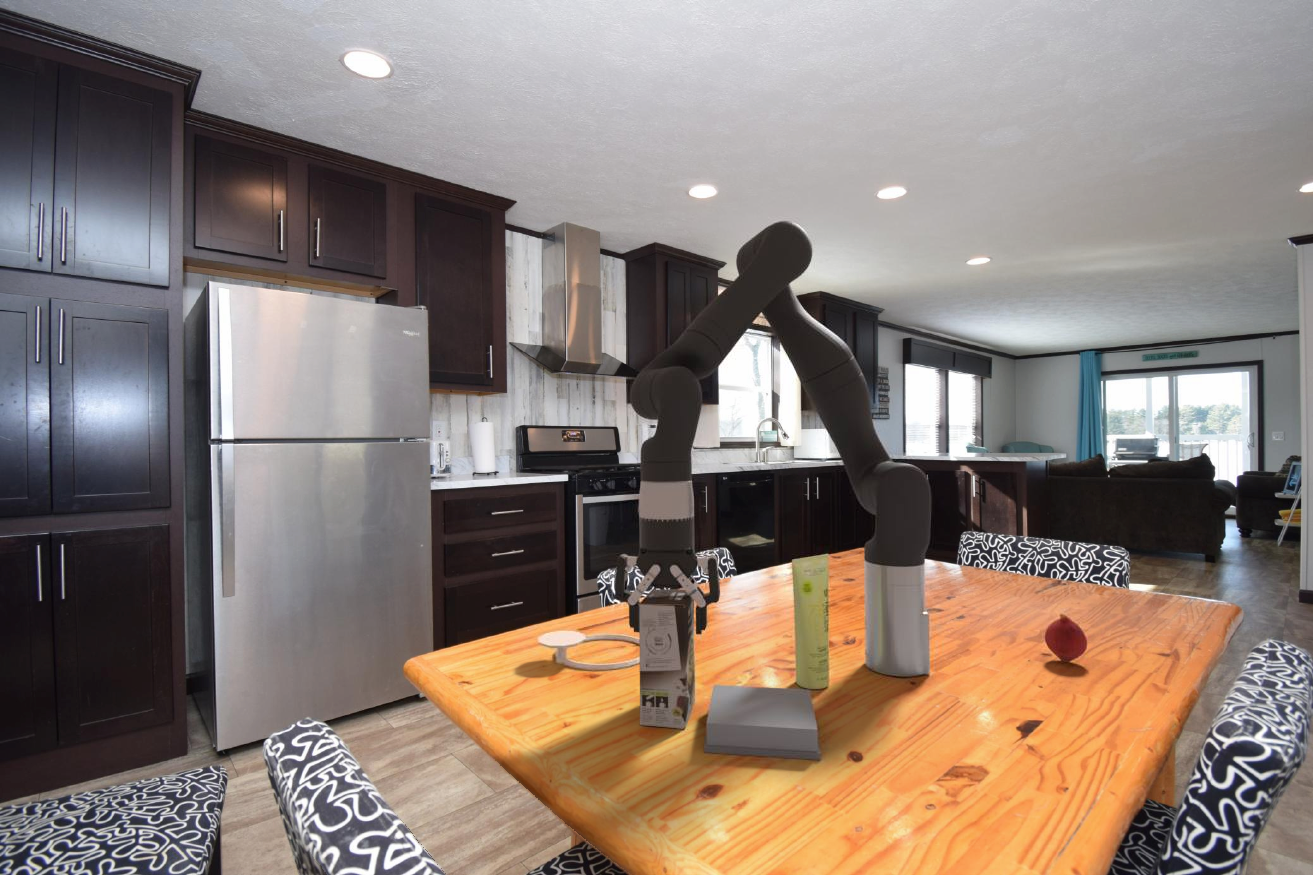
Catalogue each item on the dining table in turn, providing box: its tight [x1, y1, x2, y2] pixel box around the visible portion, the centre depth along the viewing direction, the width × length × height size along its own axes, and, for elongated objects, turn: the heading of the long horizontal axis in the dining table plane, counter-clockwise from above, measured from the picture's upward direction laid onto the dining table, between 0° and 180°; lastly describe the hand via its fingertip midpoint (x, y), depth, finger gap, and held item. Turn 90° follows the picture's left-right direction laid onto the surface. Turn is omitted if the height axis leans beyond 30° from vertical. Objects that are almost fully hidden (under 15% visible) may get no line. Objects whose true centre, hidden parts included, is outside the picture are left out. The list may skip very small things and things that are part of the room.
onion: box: [1044, 612, 1088, 663], centre depth 106 cm, size 6×6×8 cm
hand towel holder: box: [537, 630, 640, 671], centre depth 112 cm, size 17×4×21 cm
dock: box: [703, 684, 822, 761], centre depth 82 cm, size 14×13×3 cm
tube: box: [791, 553, 830, 690], centre depth 97 cm, size 6×5×20 cm
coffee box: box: [638, 588, 696, 730], centre depth 88 cm, size 9×6×16 cm
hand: (668, 631), depth 88 cm, fingers open, 8 cm apart
